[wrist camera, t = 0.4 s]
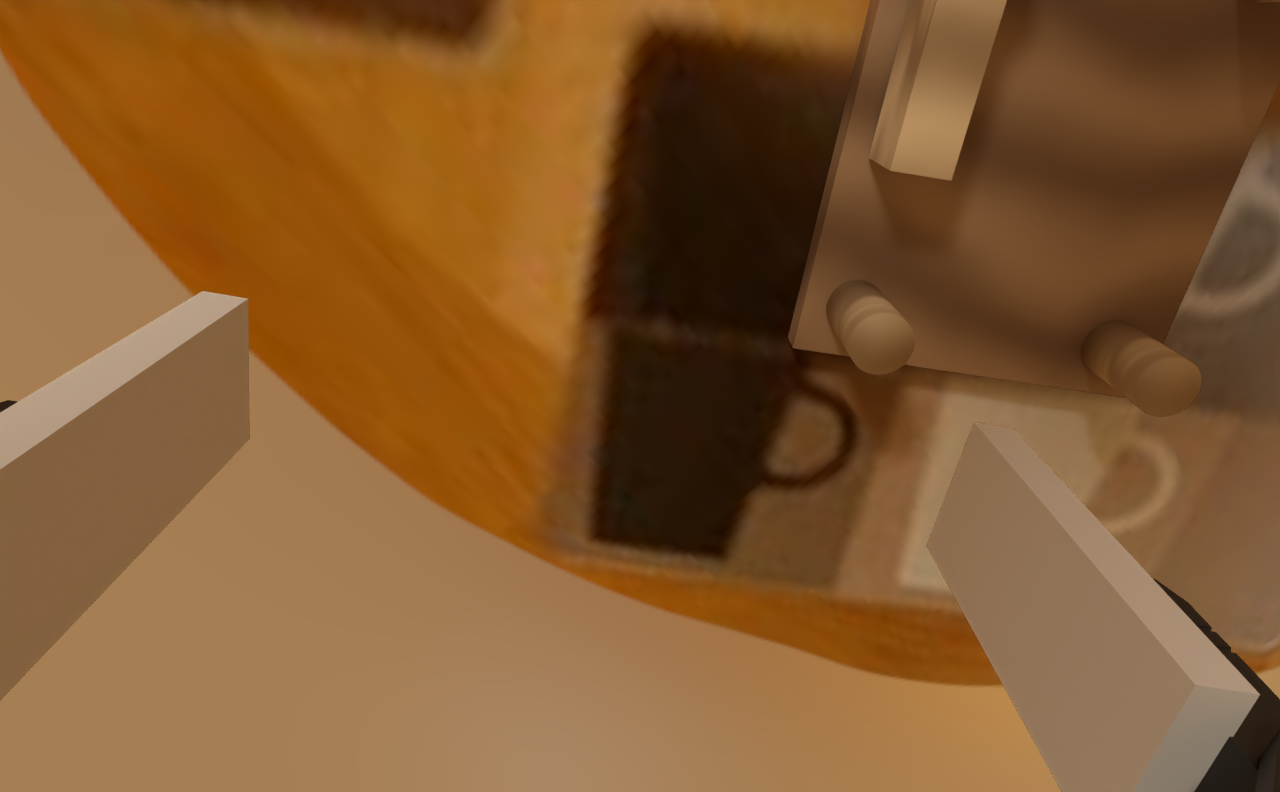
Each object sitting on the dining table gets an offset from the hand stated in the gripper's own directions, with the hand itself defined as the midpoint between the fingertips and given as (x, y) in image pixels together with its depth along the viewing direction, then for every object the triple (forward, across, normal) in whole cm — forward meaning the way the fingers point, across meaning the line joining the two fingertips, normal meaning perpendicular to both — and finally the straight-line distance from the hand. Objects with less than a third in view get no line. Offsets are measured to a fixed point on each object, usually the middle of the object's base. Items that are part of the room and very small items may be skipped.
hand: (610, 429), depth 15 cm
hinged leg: (+25, +12, +9) cm, 29 cm away
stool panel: (+26, +15, +6) cm, 31 cm away
